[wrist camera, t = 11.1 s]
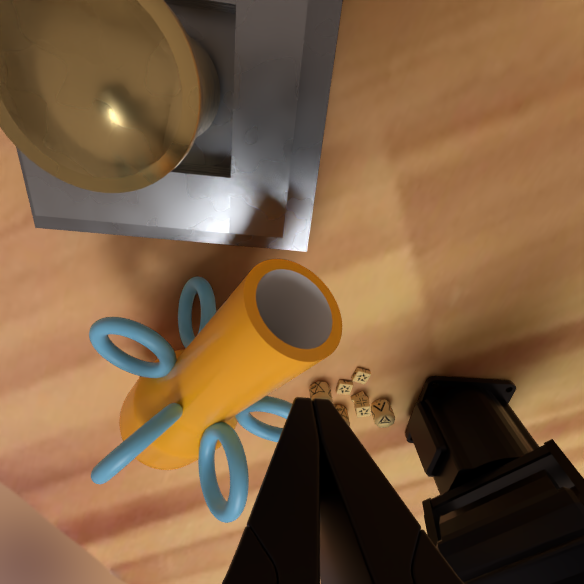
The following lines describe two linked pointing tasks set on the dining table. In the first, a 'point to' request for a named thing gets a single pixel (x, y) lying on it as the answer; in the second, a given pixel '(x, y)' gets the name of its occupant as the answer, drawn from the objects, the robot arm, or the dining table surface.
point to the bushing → (103, 89)
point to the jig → (228, 137)
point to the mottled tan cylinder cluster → (356, 399)
